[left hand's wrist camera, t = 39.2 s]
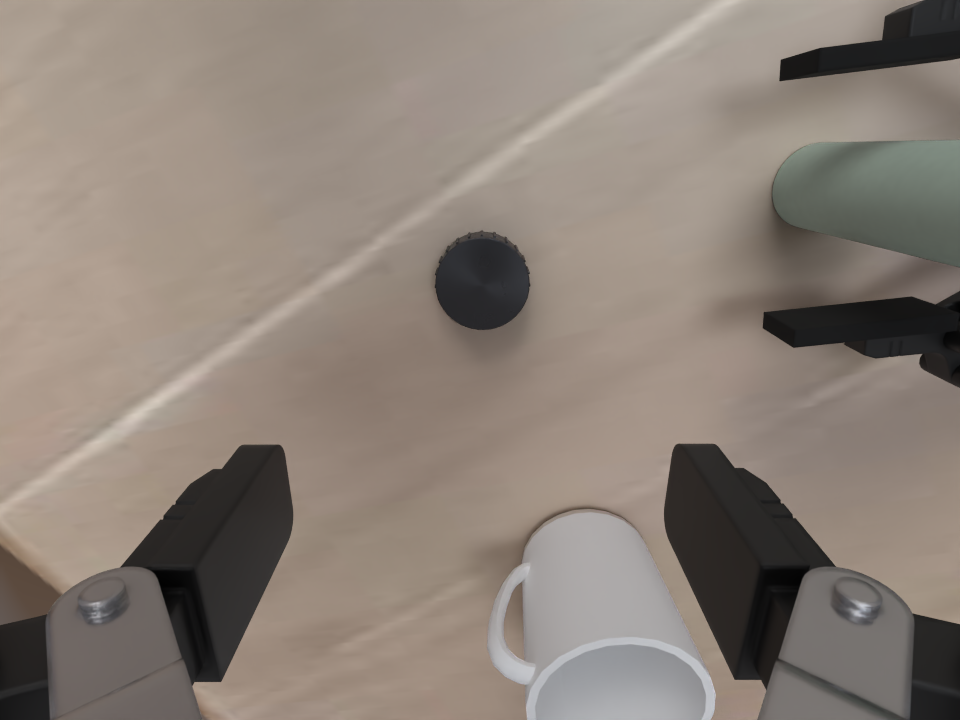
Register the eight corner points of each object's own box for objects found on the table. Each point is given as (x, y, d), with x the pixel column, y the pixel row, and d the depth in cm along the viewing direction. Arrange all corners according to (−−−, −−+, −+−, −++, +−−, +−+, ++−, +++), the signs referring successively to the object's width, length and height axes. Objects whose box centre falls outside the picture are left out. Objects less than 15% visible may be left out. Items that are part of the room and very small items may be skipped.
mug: (675, 521, 35) (748, 662, 25) (622, 625, 38) (669, 787, 28) (508, 476, 34) (518, 606, 24) (466, 588, 37) (461, 743, 27)
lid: (424, 245, 29) (420, 252, 27) (514, 218, 29) (516, 223, 27) (452, 330, 31) (450, 342, 29) (537, 306, 30) (541, 316, 29)
